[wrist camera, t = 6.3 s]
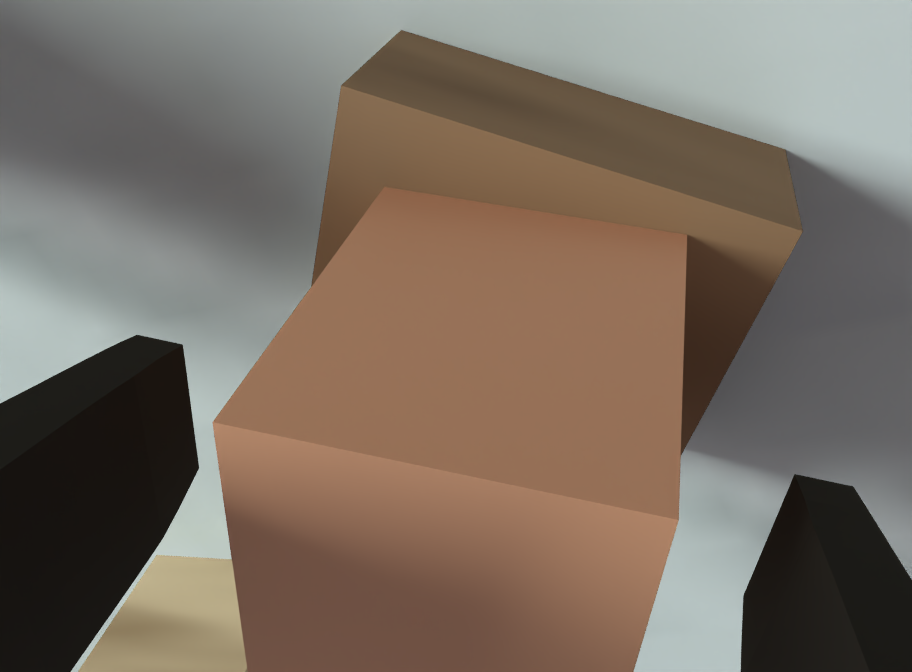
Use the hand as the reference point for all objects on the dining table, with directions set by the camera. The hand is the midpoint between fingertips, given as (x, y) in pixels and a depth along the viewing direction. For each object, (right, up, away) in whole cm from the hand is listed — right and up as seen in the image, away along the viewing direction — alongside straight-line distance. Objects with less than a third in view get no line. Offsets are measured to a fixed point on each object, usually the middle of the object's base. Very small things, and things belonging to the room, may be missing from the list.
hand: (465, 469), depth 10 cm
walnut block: (+1, +3, +5) cm, 6 cm away
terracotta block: (+1, +2, +2) cm, 3 cm away
